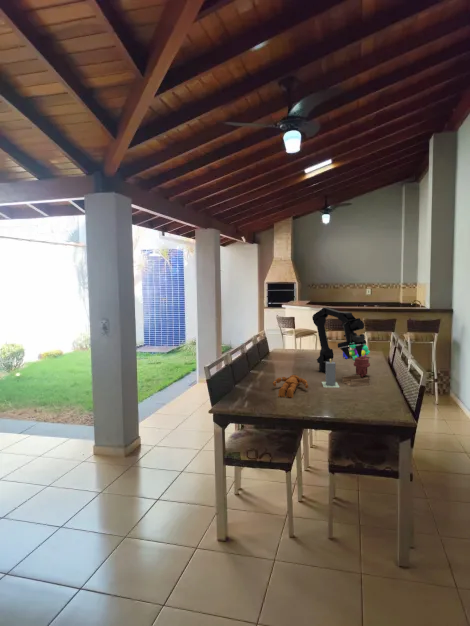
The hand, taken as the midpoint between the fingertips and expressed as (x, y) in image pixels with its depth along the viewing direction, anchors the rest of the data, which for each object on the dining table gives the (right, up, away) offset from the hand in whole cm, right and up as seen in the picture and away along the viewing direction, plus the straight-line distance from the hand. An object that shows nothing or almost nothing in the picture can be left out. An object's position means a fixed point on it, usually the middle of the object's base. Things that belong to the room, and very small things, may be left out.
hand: (354, 357), depth 250 cm
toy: (-41, -17, -17) cm, 48 cm away
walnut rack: (-2, -15, -7) cm, 16 cm away
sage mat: (-17, -15, -8) cm, 24 cm away
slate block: (-17, -15, -8) cm, 24 cm away
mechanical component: (+8, -13, +12) cm, 20 cm away
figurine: (+21, -8, +68) cm, 72 cm away
